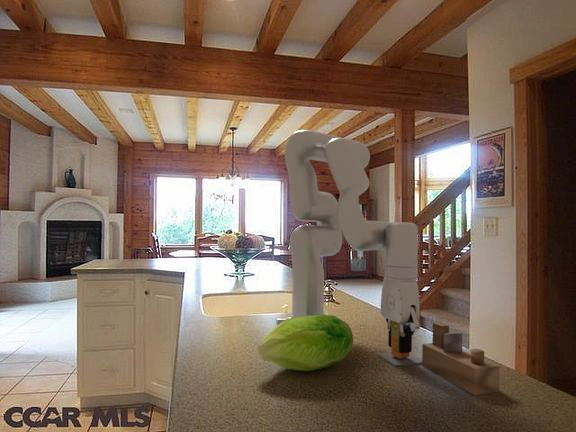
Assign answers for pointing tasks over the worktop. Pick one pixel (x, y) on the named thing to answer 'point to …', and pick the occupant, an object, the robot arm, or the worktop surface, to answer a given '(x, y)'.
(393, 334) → the supplement box
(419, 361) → the mat
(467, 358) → the brown wooden block shape
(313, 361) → the lettuce
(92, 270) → the worktop surface
